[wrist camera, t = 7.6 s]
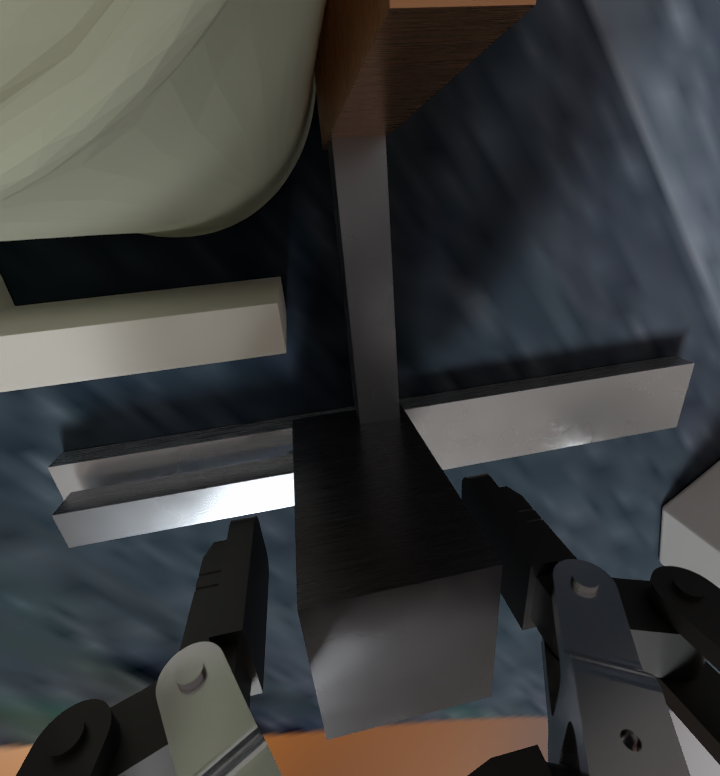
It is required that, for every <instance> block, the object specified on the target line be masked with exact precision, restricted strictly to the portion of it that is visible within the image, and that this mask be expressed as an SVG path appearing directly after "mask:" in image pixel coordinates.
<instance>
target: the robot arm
mask: <svg viewBox="0 0 720 776" xmlns="http://www.w3.org/2000/svg"><path fill="white" fill-rule="evenodd" d="M462 501H463V503H464V504H465V506H466V508H467V509H468V511H469V512H470V514H471V515H472V517H473V519H474V520H475V522H476V523H477V525H478V526H479V528H480V530H481V531H482V533H483V534H484V536H485V537H486V539H487V540H488V542H489V544H490V545H491V547H492V548H493V550H494V551H495V553H496V555H497V556H498V558H499V559H500V561H501V562H502V564H503V568H502V580H501V591H500V593H501V594H502V596H503V598H504V599H505V601H506V603H507V605H508V606H509V608H510V610H511V611H512V613H513V615H514V617H515V618H516V620H517V622H518V623H519V625H520V627H521V629H522V630H525V629H529V628H533V627H537V629H538V631H539V632H540V634H541V635H542V642H541V649H542V660H543V670H544V681H545V692H546V703H547V714H548V733H549V734H548V762H546V761H545V759H544V757H543V755H542V753H541V751H540V749H539V747H538V745H535V746H531V747H528V748H524V749H521V750H517V751H514V752H510V753H507V754H503V755H500V756H496V757H493V758H490V759H489V760H488V761H486V762H485V763H484V764H483V765H481V766H480V767H478V768H477V769H476V770H474V771H473V772H472V773H471V774H469V775H468V776H690V773H689V770H688V767H687V764H686V761H685V758H684V755H683V752H682V749H681V746H680V743H679V740H678V737H677V734H676V731H675V728H674V725H673V722H672V719H671V716H670V713H669V710H668V707H669V708H670V709H671V710H672V711H673V712H674V713H675V715H676V716H677V717H678V718H679V719H680V720H681V721H682V722H683V723H684V725H685V726H686V727H687V728H688V729H689V730H690V732H691V733H692V734H693V735H694V736H695V737H696V738H697V739H698V741H699V742H700V743H701V744H702V745H703V746H704V747H705V749H706V750H707V751H708V752H709V753H710V754H711V755H712V756H713V758H714V759H715V760H716V761H717V762H718V763H719V764H720V674H719V673H718V672H717V671H716V670H714V669H713V668H712V667H711V666H710V665H709V664H708V663H707V662H706V659H707V660H708V661H709V662H710V663H711V664H712V665H713V666H714V667H716V668H717V669H718V670H719V671H720V588H718V587H717V586H716V585H714V584H713V583H712V582H710V581H709V580H708V579H706V578H704V577H703V576H701V575H699V574H697V573H695V572H693V571H690V570H688V569H685V568H681V567H676V566H662V567H659V568H657V569H655V570H654V571H653V573H652V575H651V579H650V581H643V580H631V579H619V578H612V577H610V575H608V574H607V573H606V572H605V571H604V570H602V569H601V568H600V567H598V566H596V565H594V564H592V563H590V562H587V561H584V560H579V559H577V558H576V557H575V556H574V555H573V554H572V553H571V552H570V550H569V549H568V548H567V547H566V546H565V545H564V544H563V542H562V541H561V540H560V539H559V538H558V537H557V536H556V534H555V533H554V532H553V531H552V530H551V529H550V527H549V526H548V525H547V524H546V523H545V522H544V521H543V520H541V517H540V516H539V515H538V514H537V513H536V511H535V510H533V509H532V507H531V506H530V505H529V503H528V502H527V501H526V500H525V499H524V498H523V496H522V495H520V494H518V493H517V492H515V491H513V490H512V489H510V488H509V487H507V486H505V487H500V488H499V487H498V485H497V484H496V483H495V482H494V480H493V479H492V478H491V477H490V476H489V475H488V474H480V475H475V476H469V477H464V478H463V480H462ZM268 581H269V565H268V557H267V552H266V548H265V544H264V540H263V536H262V532H261V528H260V524H259V520H258V518H257V516H254V517H248V518H243V519H238V520H232V521H231V523H230V526H229V532H228V537H227V540H224V541H219V542H214V543H213V545H212V546H211V548H210V549H209V550H208V552H207V553H206V555H205V556H204V557H203V561H202V565H201V569H200V573H199V578H198V581H197V585H196V592H195V593H194V597H193V601H192V604H191V608H190V612H189V616H188V620H187V624H186V628H185V632H184V636H183V640H182V644H181V647H180V650H179V652H178V653H177V654H176V655H175V656H173V657H172V658H171V660H170V661H169V662H168V663H167V664H166V666H165V667H164V669H163V670H162V672H161V674H160V676H159V679H158V680H157V681H155V682H154V683H153V684H151V685H150V686H148V687H147V688H145V689H143V690H142V691H140V692H138V693H136V694H134V695H133V696H131V697H129V698H127V699H125V700H124V701H122V702H120V703H118V704H116V705H114V706H113V707H111V708H110V707H109V706H108V704H107V703H106V702H104V701H102V700H98V699H90V700H85V701H82V702H80V703H77V704H75V705H73V706H71V707H70V708H68V709H67V710H65V711H64V712H62V713H61V714H60V715H59V716H57V717H56V718H55V719H54V720H53V721H52V722H51V723H50V724H49V725H48V726H47V727H46V728H45V729H44V730H43V732H42V733H41V734H40V736H39V737H38V738H37V740H36V741H35V743H34V744H33V746H32V748H31V750H30V751H29V753H28V755H27V757H26V759H25V760H24V762H23V764H22V766H21V768H20V770H19V771H18V773H17V775H16V776H282V775H281V773H280V771H279V769H278V766H277V764H276V762H275V760H274V758H273V756H272V753H271V751H270V749H269V747H268V745H267V743H266V741H265V739H264V737H263V735H262V733H261V732H260V731H259V729H258V727H257V725H256V723H255V721H254V719H253V716H252V714H251V712H250V710H249V707H250V696H251V695H255V694H259V693H263V679H264V659H265V640H266V620H267V600H268ZM667 705H668V707H667Z"/></svg>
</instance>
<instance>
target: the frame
mask: <svg viewBox="0 0 720 776" xmlns="http://www.w3.org/2000/svg"><path fill="white" fill-rule="evenodd" d="M284 353H286V306H285V300H284V294H283V288H282V282H281V276H280V277H272V278H263V279H254V280H245V281H236V282H227V283H218V284H209V285H200V286H191V287H182V288H173V289H164V290H155V291H146V292H137V293H128V294H119V295H110V296H101V297H92V298H83V299H74V300H66V301H57V302H48V303H39V304H30V305H21V306H15V305H14V303H13V301H12V298H11V296H10V294H9V292H8V290H7V287H6V285H5V283H4V281H3V278H2V276H1V274H0V392H6V391H13V390H21V389H28V388H35V387H42V386H50V385H57V384H64V383H72V382H79V381H86V380H94V379H101V378H108V377H115V376H123V375H130V374H137V373H145V372H152V371H159V370H167V369H174V368H181V367H189V366H196V365H203V364H210V363H218V362H225V361H232V360H240V359H247V358H254V357H262V356H269V355H276V354H284Z"/></svg>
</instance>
